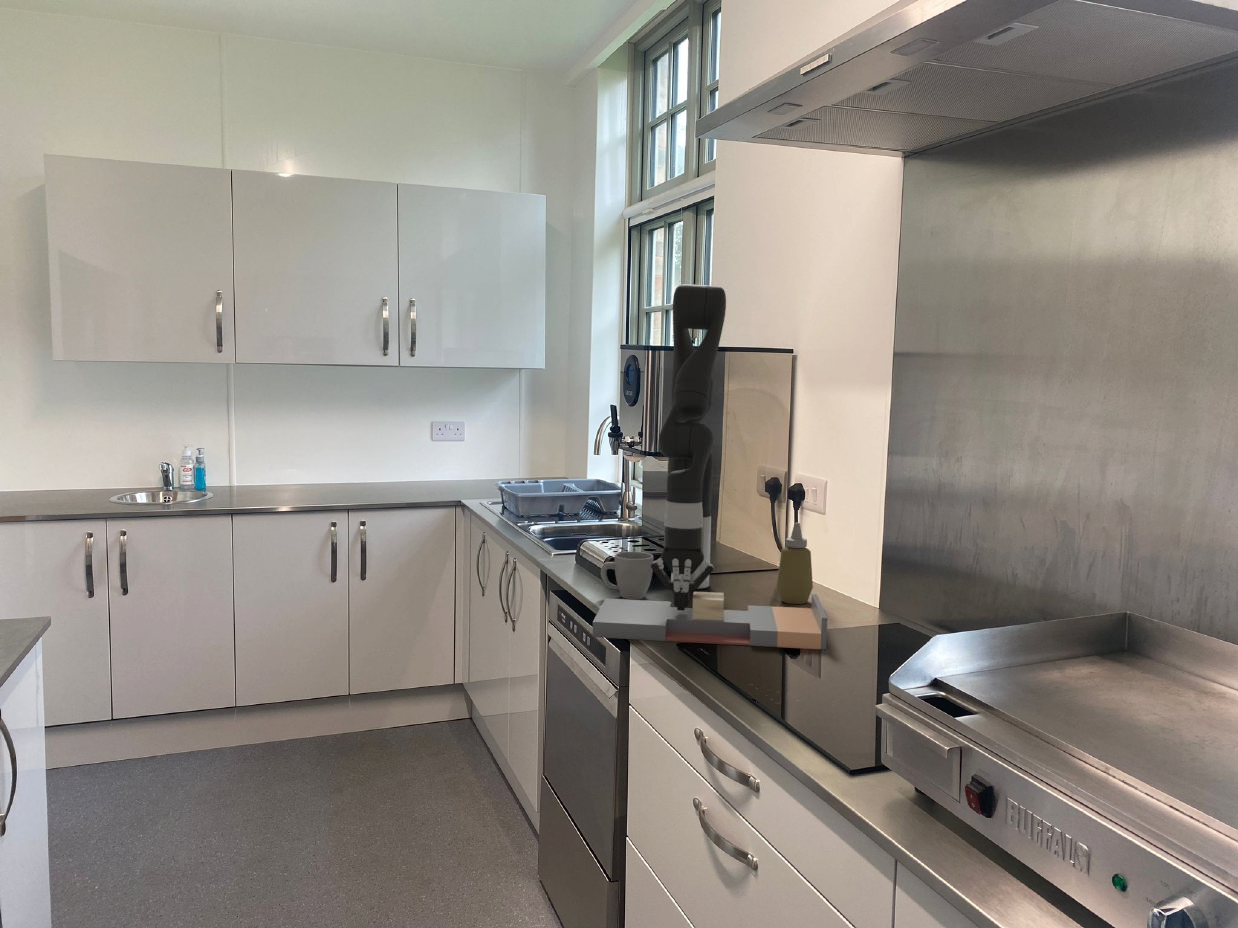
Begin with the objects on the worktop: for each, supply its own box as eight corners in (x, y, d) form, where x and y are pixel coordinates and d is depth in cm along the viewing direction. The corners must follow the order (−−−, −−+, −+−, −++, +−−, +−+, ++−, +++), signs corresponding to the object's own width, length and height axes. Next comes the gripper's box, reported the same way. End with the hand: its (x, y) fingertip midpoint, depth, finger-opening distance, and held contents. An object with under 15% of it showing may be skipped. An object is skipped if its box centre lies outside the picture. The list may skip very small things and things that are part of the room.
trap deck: (605, 612, 183) (605, 584, 182) (815, 622, 178) (816, 594, 177) (592, 636, 165) (593, 606, 164) (825, 649, 160) (827, 618, 159)
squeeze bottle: (773, 604, 192) (776, 524, 190) (778, 595, 200) (781, 519, 198) (810, 607, 190) (814, 527, 188) (813, 598, 197) (816, 521, 196)
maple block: (693, 611, 174) (693, 591, 173) (723, 612, 173) (723, 592, 173) (692, 619, 168) (692, 599, 167) (723, 620, 167) (723, 600, 167)
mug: (648, 591, 201) (649, 551, 200) (656, 601, 193) (656, 558, 192) (597, 592, 200) (598, 551, 199) (603, 602, 191) (603, 559, 190)
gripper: (717, 522, 173) (714, 606, 174) (652, 519, 174) (649, 602, 176) (716, 528, 165) (713, 616, 167) (648, 525, 167) (646, 612, 168)
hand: (680, 609), depth 171 cm, fingers closed
